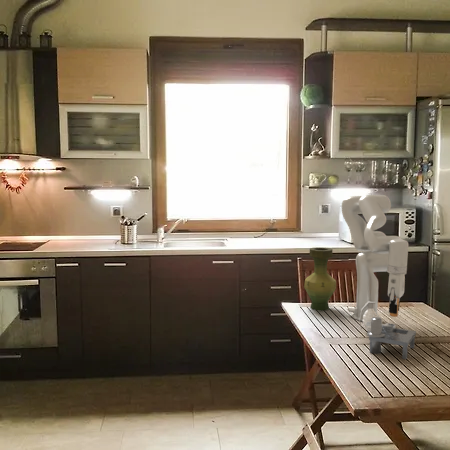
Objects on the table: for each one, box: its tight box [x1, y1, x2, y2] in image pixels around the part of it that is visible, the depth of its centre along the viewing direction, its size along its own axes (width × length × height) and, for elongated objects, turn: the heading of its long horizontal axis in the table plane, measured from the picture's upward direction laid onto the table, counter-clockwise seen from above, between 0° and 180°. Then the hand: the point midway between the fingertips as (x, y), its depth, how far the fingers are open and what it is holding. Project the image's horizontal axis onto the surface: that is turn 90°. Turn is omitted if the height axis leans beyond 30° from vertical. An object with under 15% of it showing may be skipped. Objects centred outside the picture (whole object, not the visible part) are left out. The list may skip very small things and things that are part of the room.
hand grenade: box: [358, 302, 378, 332], centre depth 214 cm, size 8×6×13 cm
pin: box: [389, 296, 400, 318], centre depth 208 cm, size 4×4×10 cm
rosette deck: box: [366, 317, 417, 360], centre depth 192 cm, size 18×17×13 cm
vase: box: [303, 246, 337, 312], centre depth 249 cm, size 16×16×30 cm
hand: (393, 311), depth 209 cm, fingers closed on pin, 3 cm apart
